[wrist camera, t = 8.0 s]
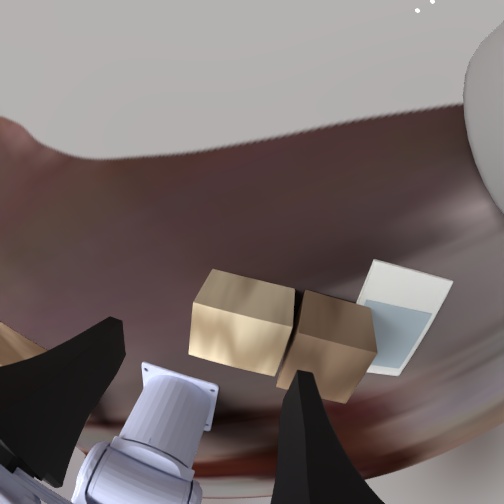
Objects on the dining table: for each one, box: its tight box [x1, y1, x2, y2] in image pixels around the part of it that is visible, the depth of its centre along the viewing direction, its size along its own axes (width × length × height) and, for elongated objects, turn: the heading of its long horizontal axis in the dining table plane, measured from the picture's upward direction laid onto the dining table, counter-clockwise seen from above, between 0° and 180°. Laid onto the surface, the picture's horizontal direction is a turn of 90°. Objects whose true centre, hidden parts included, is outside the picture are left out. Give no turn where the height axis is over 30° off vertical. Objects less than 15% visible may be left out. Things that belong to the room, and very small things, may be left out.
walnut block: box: [276, 290, 378, 403], centre depth 19 cm, size 5×5×5 cm
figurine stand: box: [0, 322, 91, 426], centre depth 30 cm, size 12×16×6 cm
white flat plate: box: [356, 259, 453, 376], centre depth 21 cm, size 10×7×1 cm
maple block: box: [189, 269, 295, 376], centre depth 20 cm, size 4×4×6 cm
